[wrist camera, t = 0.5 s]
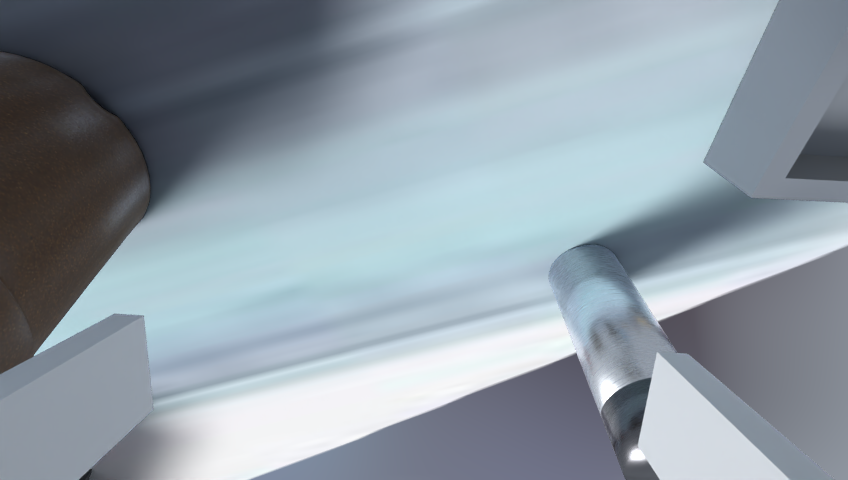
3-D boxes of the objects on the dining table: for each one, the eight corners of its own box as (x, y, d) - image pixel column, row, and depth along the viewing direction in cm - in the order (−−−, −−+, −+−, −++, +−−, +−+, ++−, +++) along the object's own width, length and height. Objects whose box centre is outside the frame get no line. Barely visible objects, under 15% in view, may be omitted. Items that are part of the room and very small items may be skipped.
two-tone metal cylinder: (557, 243, 29) (646, 433, 18) (627, 246, 29) (761, 436, 18) (542, 296, 32) (609, 490, 20) (606, 299, 32) (709, 492, 21)
